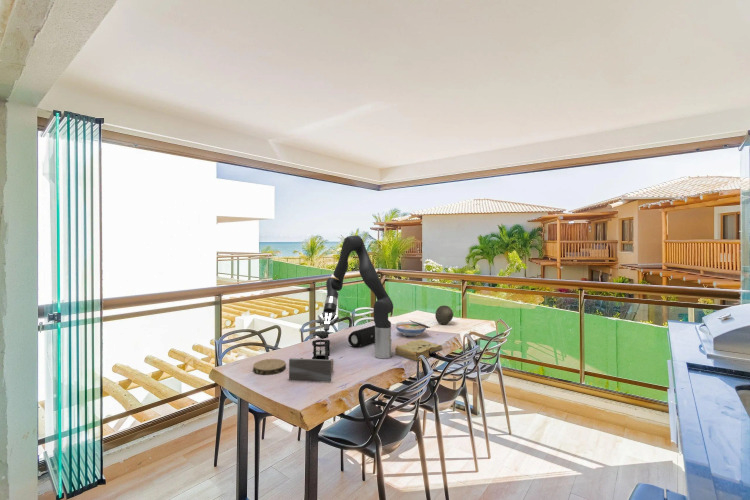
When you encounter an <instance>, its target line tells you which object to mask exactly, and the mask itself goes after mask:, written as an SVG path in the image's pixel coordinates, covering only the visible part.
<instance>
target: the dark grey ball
mask: <svg viewBox="0 0 750 500" xmlns="http://www.w3.org/2000/svg"><path fill="white" fill-rule="evenodd" d="M453 317H454V311H453V309H452V308H451V307H450V306H448V305H440V306H438V308H437V309H436V311H435V317H434V318H435V320H436V321H437V323H438V324H440V325H446V324H448V323H450V322H451V321H452V320H453Z"/></svg>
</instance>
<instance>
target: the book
mask: <svg viewBox="0 0 750 500" xmlns="http://www.w3.org/2000/svg"><path fill="white" fill-rule="evenodd" d="M443 349H444V348H443V346H442V344H437V343H434V342H430V341H427V340H423V339H418V340H411V341H409V342H406V343H405V344H402V345H396V346H395V349H394V351H395V353H394V356H397V357H399V358H403V359H406V360H408V361H411V362H414V363H417V362H421V361H422V360H419V361H418V357H419V356H420V355H424V356H425V357H426V359H429V358H431V357H430V356H431V355H434V354H436V353H439V352H440V351H443ZM432 353H433V354H432ZM429 354H430V355H429ZM426 359H425V360H426Z"/></svg>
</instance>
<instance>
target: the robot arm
mask: <svg viewBox="0 0 750 500" xmlns="http://www.w3.org/2000/svg"><path fill="white" fill-rule="evenodd" d="M341 245H342V246H341V250H340V255H339V258H338V262H337V264H336V266H335V269H334V271H333V277H329V278H327V280H326V283H325V285H326V298H325V302H324V305H323V311H322V313H321V314H320V315H317V318H318V320H319V321H324V322H325V323H322V325H321V326H323V331H327V332H330V331H329V330H330V327H331V326H333V325H335V324H336V323H337V322H338V321H339V320H340V317H339V316H338V315H337V309H338V298H339V292H340V291H341V290H342V289H343V285H344V278H345V277H346V273H347V271H348V269H349V257H350V255H351V253H352V252H355V253H356V255H357V257H358V258H357V259H358V262H359V265H358V270H359V274H360V276H361V278H362V280H363V283H364V284H365V285H366V287H367V288H368V289H369V290H370V291H371V292H372V293H373V294H374V296H375V298H376V301H375V302H374V305H373V322H374V325H375V341H374V357H375V358H376V359H377V358H378V359H390V358H391V356H392V322H391V321H390V320H389V314H390V313H392V312H393V310H394V303H393V301H392V299H391V297H390V296H389V294H388V293H387V291H386V290H385V288H384V285H383V283H382V281H381V279H380V277H379V275H378V272H377V271H376V268H375V266H374V265H373V263H372V260H371V258H370V255H369V253H368V251H367V248H366V245H365V243H364V240H363V238H362V237H361V236H360V235H349V236H346V237H345V238H344V240H343V241H342V244H341Z"/></svg>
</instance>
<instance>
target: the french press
mask: <svg viewBox="0 0 750 500" xmlns="http://www.w3.org/2000/svg"><path fill="white" fill-rule="evenodd" d="M316 323H317V324H319V326H320V329H319V330H317V331H313V332H312V333H311V334H312V337H313V338H314V337H317V338H319V339H315V340H313V341H311V345H312V346H313V347H312V348H313V350H312V354H313V356H312V357H311V359H322V360H330V358H329V357H330V353H331V352H330V351H331V349H330V348H331V345H330V344H331V340H329V339H328V338H329V334H330V331H325V330H322V326H323V325H322V323H325V320H323V321H320V320H319V321H316ZM317 347H318V348H319V349H317ZM322 347H324V349H322Z"/></svg>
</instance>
